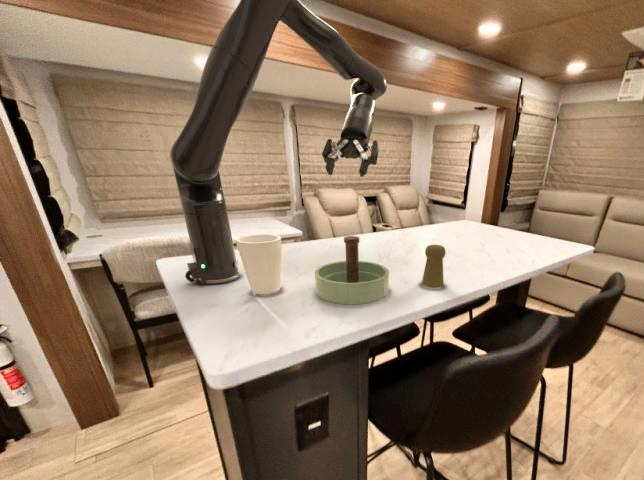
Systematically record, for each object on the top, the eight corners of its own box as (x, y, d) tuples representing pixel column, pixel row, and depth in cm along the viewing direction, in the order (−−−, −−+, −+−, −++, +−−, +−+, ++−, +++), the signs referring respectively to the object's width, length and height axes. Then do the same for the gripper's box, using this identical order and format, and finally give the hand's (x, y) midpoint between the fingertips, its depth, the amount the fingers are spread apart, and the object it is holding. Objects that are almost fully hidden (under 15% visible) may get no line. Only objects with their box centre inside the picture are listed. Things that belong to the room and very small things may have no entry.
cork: (442, 290, 80) (447, 249, 76) (419, 288, 81) (422, 247, 77) (444, 283, 85) (448, 243, 81) (422, 280, 86) (425, 241, 82)
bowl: (339, 313, 65) (338, 289, 63) (304, 288, 78) (302, 267, 75) (402, 295, 76) (403, 274, 74) (363, 276, 88) (363, 257, 86)
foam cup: (295, 288, 78) (289, 236, 73) (269, 301, 70) (261, 244, 64) (264, 282, 80) (257, 232, 75) (236, 295, 72) (226, 240, 67)
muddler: (349, 294, 74) (348, 240, 69) (340, 288, 77) (338, 236, 72) (365, 290, 76) (364, 238, 71) (355, 285, 79) (354, 235, 74)
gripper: (328, 114, 82) (313, 160, 76) (381, 115, 80) (369, 163, 74) (336, 138, 89) (323, 182, 83) (385, 140, 87) (374, 185, 81)
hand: (345, 173), depth 78 cm, fingers open, 8 cm apart
